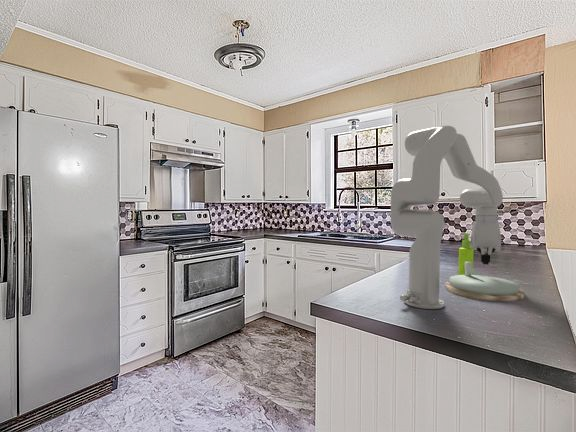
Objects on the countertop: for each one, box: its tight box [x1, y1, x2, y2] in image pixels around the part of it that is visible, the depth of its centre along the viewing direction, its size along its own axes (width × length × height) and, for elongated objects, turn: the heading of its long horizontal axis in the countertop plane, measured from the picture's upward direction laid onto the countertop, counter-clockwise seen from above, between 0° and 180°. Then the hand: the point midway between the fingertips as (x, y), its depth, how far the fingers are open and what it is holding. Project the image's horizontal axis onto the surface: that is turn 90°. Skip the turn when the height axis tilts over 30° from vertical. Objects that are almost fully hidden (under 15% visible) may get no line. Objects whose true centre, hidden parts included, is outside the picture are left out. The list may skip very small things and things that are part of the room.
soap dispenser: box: [457, 232, 474, 275], centre depth 150 cm, size 6×7×20 cm
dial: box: [449, 262, 521, 295], centre depth 125 cm, size 23×23×8 cm
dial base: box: [444, 280, 526, 303], centre depth 125 cm, size 26×26×2 cm
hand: (485, 263), depth 133 cm, fingers closed
